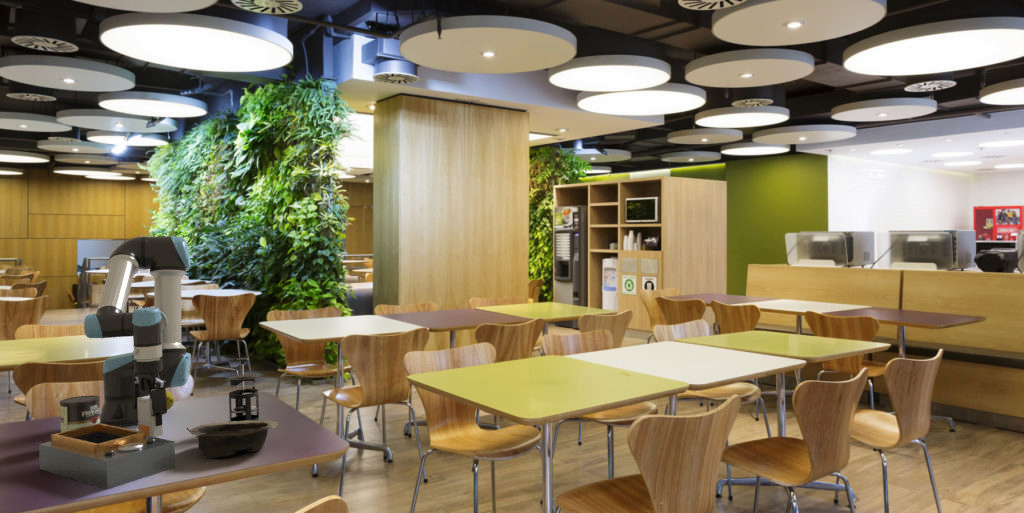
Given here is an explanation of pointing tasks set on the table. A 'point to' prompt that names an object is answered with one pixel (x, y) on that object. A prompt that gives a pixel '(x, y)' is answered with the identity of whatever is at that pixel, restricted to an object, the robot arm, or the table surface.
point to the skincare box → (145, 415)
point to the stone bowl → (231, 437)
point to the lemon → (169, 400)
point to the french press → (239, 397)
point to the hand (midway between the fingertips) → (150, 434)
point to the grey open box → (106, 455)
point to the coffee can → (79, 412)
